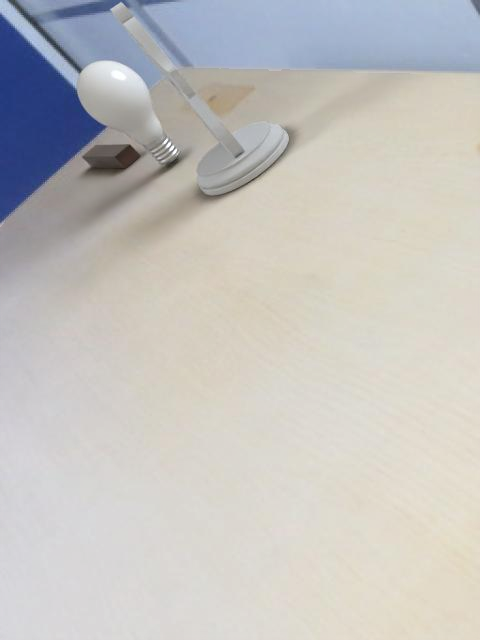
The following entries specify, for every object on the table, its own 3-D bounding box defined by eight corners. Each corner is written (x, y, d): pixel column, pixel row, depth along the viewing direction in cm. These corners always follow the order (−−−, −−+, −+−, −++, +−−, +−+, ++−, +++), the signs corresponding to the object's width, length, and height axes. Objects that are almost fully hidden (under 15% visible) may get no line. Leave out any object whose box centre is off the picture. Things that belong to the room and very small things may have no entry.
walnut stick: (141, 155, 88) (129, 143, 87) (125, 168, 87) (114, 156, 86) (106, 155, 94) (96, 144, 93) (92, 167, 93) (81, 156, 92)
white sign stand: (215, 206, 68) (72, 47, 58) (194, 181, 75) (63, 33, 64) (301, 144, 70) (178, -23, 59) (274, 124, 76) (158, -30, 66)
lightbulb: (152, 165, 84) (66, 72, 76) (200, 137, 83) (118, 40, 76) (147, 188, 79) (55, 91, 71) (198, 158, 79) (111, 58, 71)
